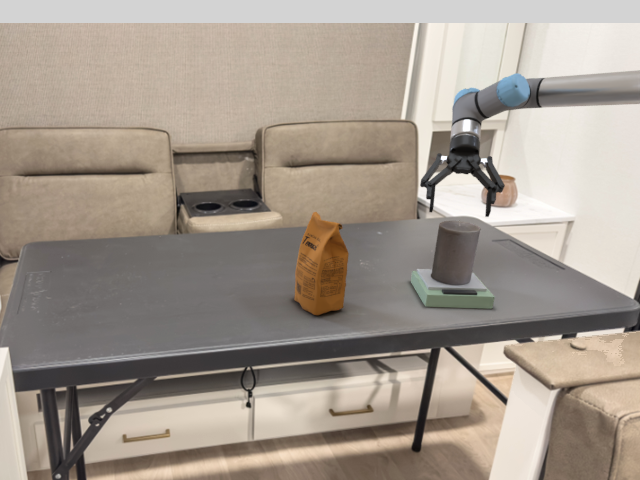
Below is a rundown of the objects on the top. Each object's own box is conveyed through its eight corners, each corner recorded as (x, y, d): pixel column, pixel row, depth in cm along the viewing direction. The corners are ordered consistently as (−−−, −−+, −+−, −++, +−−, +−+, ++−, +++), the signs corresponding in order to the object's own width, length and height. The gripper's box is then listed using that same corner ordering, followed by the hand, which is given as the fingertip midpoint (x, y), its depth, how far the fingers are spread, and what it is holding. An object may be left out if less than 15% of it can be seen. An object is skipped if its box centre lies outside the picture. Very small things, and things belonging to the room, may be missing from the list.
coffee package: (323, 292, 147) (330, 208, 138) (348, 312, 137) (357, 222, 128) (288, 298, 144) (292, 211, 135) (311, 318, 133) (317, 226, 125)
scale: (492, 308, 140) (495, 293, 138) (425, 306, 140) (427, 291, 139) (471, 283, 154) (474, 269, 153) (410, 281, 155) (412, 267, 153)
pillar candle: (422, 276, 148) (431, 219, 142) (446, 268, 153) (455, 213, 147) (455, 288, 141) (466, 229, 135) (479, 280, 146) (490, 222, 140)
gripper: (512, 153, 154) (508, 223, 147) (414, 148, 160) (407, 215, 153) (519, 135, 147) (516, 208, 140) (417, 130, 153) (409, 200, 146)
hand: (459, 212), depth 147 cm, fingers open, 13 cm apart
